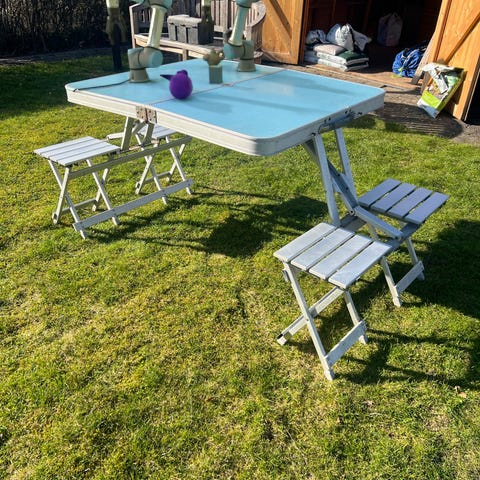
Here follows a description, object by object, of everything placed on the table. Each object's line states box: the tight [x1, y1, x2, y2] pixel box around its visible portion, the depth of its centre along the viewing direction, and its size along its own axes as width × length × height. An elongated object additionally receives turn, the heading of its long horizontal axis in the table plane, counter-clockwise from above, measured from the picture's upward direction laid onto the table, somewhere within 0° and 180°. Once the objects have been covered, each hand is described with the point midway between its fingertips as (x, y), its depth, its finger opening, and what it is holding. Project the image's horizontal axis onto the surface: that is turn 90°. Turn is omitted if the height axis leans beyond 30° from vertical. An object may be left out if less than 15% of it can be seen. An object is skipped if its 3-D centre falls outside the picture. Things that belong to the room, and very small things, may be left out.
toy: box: [159, 69, 194, 100], centre depth 286 cm, size 16×18×27 cm
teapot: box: [202, 47, 226, 67], centre depth 386 cm, size 21×12×15 cm, turn 120°
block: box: [208, 65, 223, 85], centre depth 326 cm, size 6×8×11 cm
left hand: (118, 43), depth 296 cm, fingers open, 13 cm apart
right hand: (207, 34), depth 371 cm, fingers open, 13 cm apart
